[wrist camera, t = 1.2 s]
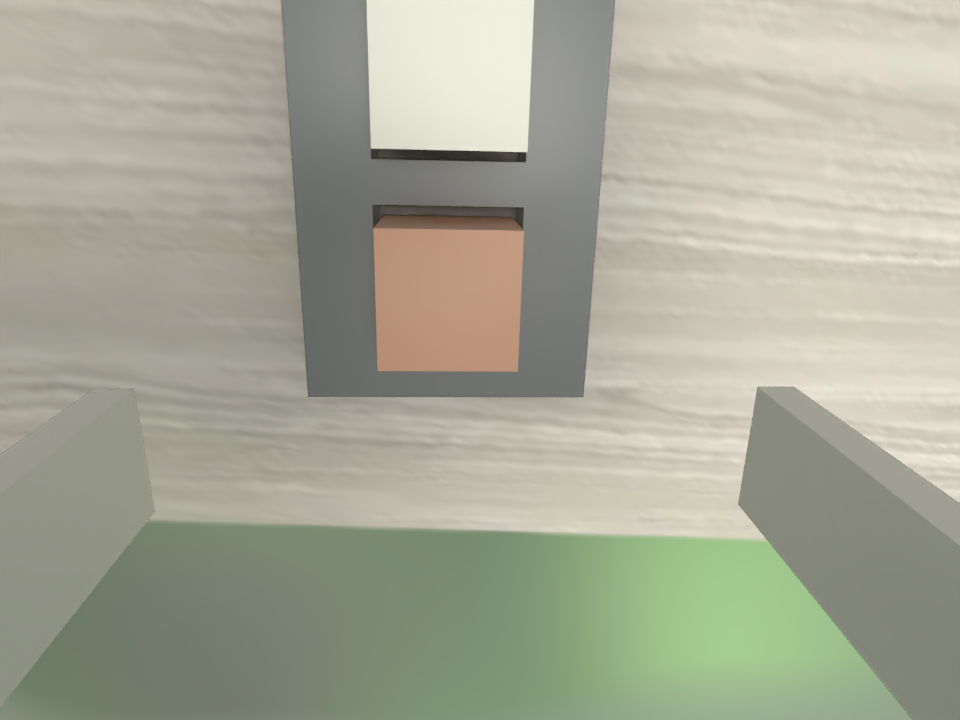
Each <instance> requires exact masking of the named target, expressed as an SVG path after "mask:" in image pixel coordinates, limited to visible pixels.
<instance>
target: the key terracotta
mask: <svg viewBox="0 0 960 720" xmlns="http://www.w3.org/2000/svg"><path fill="white" fill-rule="evenodd" d="M373 235H374V268H375V301H376V335H377V368H378V371H486V372H518V357H519V334H520V312H521V289H522V266H523V244H524V230H523V229H522V228H521V227H520V226H519V225H518V223H517V222H516V221H515V220H514V219H513V218H512V217H482V216H425V215H384V216H383V217H382V218H381V220H380V221H379V222H378V223H377V224H376V226H375V227H374V228H373Z"/></svg>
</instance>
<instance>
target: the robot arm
mask: <svg viewBox="0 0 960 720" xmlns="http://www.w3.org/2000/svg"><path fill="white" fill-rule="evenodd" d="M738 505H739V506H740V507H741V508H742V509H743V511H744V512H745V513H746V514H747V516H748V517H749V518H750V519H751V521H752V522H753V523H754V524H755V526H756V527H757V528H758V529H759V531H760V532H761V533H762V534H763V536H764V537H765V538H766V539H767V540H768V542H769V543H770V544H771V545H772V547H773V548H774V549H775V550H776V552H777V553H778V554H779V555H780V557H781V558H782V559H783V560H784V562H785V563H786V564H787V565H788V566H789V568H790V569H791V570H792V571H793V573H794V574H795V575H796V576H797V578H798V579H799V580H800V581H801V583H802V584H803V585H804V586H805V587H806V589H807V590H808V591H809V592H810V594H811V595H812V596H813V597H814V598H815V600H816V601H817V602H818V604H820V606H821V607H822V609H823V610H824V611H825V612H826V613H827V614H828V616H829V617H830V618H831V620H832V621H833V622H834V623H835V625H836V626H837V627H838V628H839V630H840V631H841V632H842V633H843V635H844V636H845V637H846V638H847V640H848V641H849V642H850V643H851V645H852V646H853V647H854V648H855V650H856V651H857V652H858V653H859V654H860V656H861V657H862V658H863V659H864V661H865V662H866V663H867V664H868V666H869V667H870V668H871V669H872V671H873V672H874V673H875V674H876V676H877V677H878V678H879V679H880V681H881V682H882V683H883V684H884V685H885V687H886V688H887V689H888V690H889V692H890V693H891V694H892V695H893V697H894V698H895V699H896V700H897V701H898V703H899V704H900V705H901V707H902V708H903V709H904V710H905V711H906V713H907V714H908V715H909V716H910V718H911V719H912V720H960V503H959V502H957V501H956V500H954V499H953V498H951V497H950V496H949V495H947V494H946V493H944V492H943V491H941V490H940V489H939V488H937V487H936V486H934V485H933V484H932V483H930V482H929V481H927V480H926V479H924V478H923V477H922V476H920V475H919V474H917V473H916V472H914V471H913V470H912V469H910V468H909V467H907V466H906V465H904V464H903V463H902V462H900V461H899V460H897V459H896V458H895V457H893V456H892V455H890V454H889V453H887V452H886V451H885V450H883V449H882V448H880V447H879V446H877V445H876V444H875V443H873V442H872V441H870V440H869V439H867V438H866V437H865V436H863V435H862V434H860V433H859V432H858V431H856V430H855V429H853V428H852V427H850V426H849V425H848V424H846V423H845V422H843V421H842V420H840V419H839V418H838V417H836V416H835V415H833V414H832V413H830V412H829V411H828V410H826V409H825V408H823V407H822V406H821V405H819V404H818V403H816V402H815V401H813V400H812V399H811V398H809V397H808V396H806V395H805V394H803V393H802V392H801V391H799V390H798V389H796V388H795V387H757V393H756V399H755V405H754V411H753V417H752V423H751V429H750V435H749V442H748V448H747V454H746V460H745V466H744V472H743V478H742V484H741V490H740V496H739V502H738ZM154 512H155V509H154V503H153V497H152V492H151V486H150V480H149V474H148V468H147V462H146V456H145V450H144V444H143V438H142V432H141V426H140V420H139V414H138V408H137V402H136V396H135V390H134V389H93V390H92V391H90V392H89V393H88V394H86V395H85V396H83V397H82V398H80V399H79V400H78V401H76V402H75V403H73V404H72V405H70V406H69V407H67V408H66V409H65V410H63V411H62V412H60V413H59V414H57V415H56V416H55V417H53V418H52V419H50V420H49V421H47V422H46V423H45V424H43V425H42V426H40V427H39V428H37V429H36V430H35V431H33V432H32V433H30V434H29V435H27V436H26V437H25V438H23V439H22V440H20V441H19V442H17V443H16V444H14V445H13V446H12V447H10V448H9V449H7V450H6V451H4V452H3V453H2V454H0V707H1V706H2V704H3V703H4V702H5V701H6V699H7V698H8V696H9V695H10V694H11V693H12V692H13V690H14V689H15V688H16V687H17V685H18V684H19V683H20V681H21V680H22V679H23V678H24V676H25V675H26V674H27V673H28V671H29V670H30V669H31V668H32V666H33V665H34V664H35V663H36V661H37V660H38V659H39V658H40V656H41V655H42V654H43V652H44V651H45V650H46V649H47V647H48V646H49V645H50V644H51V642H52V641H53V640H54V639H55V637H56V636H57V635H58V633H59V632H60V631H61V630H62V628H63V627H64V626H65V625H66V623H67V622H68V621H69V620H70V618H71V617H72V616H73V614H74V613H75V612H76V611H77V609H78V608H79V607H80V606H81V604H82V603H83V602H84V601H85V599H86V598H87V597H88V596H89V594H90V593H91V592H92V590H93V589H94V588H95V587H96V585H97V584H98V583H99V582H100V580H101V579H102V578H103V577H104V575H105V574H106V573H107V572H108V570H109V569H110V568H111V567H112V565H113V564H114V563H115V561H116V560H117V559H118V558H119V556H120V555H121V554H122V553H123V551H124V550H125V549H126V547H127V546H128V545H129V544H130V543H131V541H132V540H133V539H134V537H135V536H136V535H137V534H138V532H139V531H140V530H141V529H142V527H143V526H144V525H145V524H146V522H147V521H148V520H149V519H150V517H151V516H152V515H153V513H154Z"/></svg>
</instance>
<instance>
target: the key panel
mask: <svg viewBox="0 0 960 720" xmlns="http://www.w3.org/2000/svg"><path fill="white" fill-rule="evenodd" d="M281 3H282V18H283V33H284V48H285V62H286V77H287V92H288V107H289V121H290V136H291V151H292V166H293V180H294V195H295V210H296V225H297V239H298V254H299V269H300V284H301V298H302V313H303V328H304V342H305V357H306V372H307V387H308V397H583V394H584V382H585V369H586V357H587V344H588V332H589V320H590V307H591V295H592V282H593V270H594V257H595V245H596V232H597V220H598V207H599V195H600V182H601V170H602V157H603V145H604V132H605V120H606V107H607V95H608V82H609V70H610V57H611V45H612V32H613V20H614V7H615V0H534V18H533V40H532V63H531V86H530V108H529V131H528V152H519V161H510V160H466V159H421V158H378V151H377V149H371V135H370V102H369V69H368V36H367V2H366V0H281ZM379 205H418V206H472V207H517V219H516V222H517V223H518V225H519V226H520V227H521V228H522V229H523V230H524V244H523V266H522V289H521V312H520V334H519V357H518V372H486V371H378V368H377V335H376V301H375V268H374V235H373V228H374V227H375V226H376V224H377V223H378V222H379Z"/></svg>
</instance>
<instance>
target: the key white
mask: <svg viewBox="0 0 960 720" xmlns="http://www.w3.org/2000/svg"><path fill="white" fill-rule="evenodd" d="M366 2H367V36H368V69H369V102H370V135H371V149H412V150H455V151H498V152H528V131H529V108H530V86H531V63H532V40H533V18H534V0H366Z"/></svg>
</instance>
